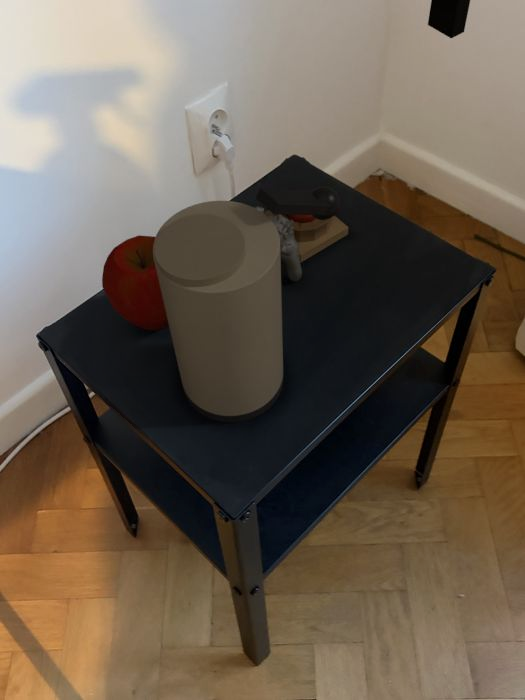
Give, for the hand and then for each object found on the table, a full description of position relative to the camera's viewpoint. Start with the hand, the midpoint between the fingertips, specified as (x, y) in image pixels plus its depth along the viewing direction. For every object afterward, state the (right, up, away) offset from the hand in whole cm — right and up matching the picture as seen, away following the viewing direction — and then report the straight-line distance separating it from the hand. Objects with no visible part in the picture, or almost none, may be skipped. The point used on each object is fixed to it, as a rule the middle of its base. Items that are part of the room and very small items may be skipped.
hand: (445, 28), depth 60 cm
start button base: (-11, -13, +24) cm, 29 cm away
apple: (-26, -24, +17) cm, 39 cm away
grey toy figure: (-17, -19, +20) cm, 32 cm away
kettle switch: (-13, -16, +1) cm, 20 cm away
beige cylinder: (-18, -30, +12) cm, 37 cm away
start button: (-11, -11, +22) cm, 27 cm away
